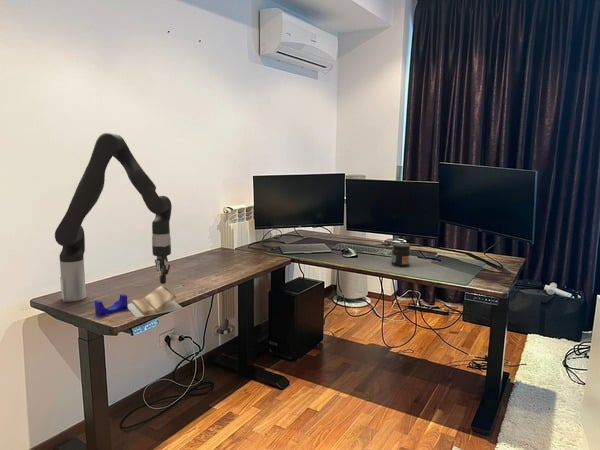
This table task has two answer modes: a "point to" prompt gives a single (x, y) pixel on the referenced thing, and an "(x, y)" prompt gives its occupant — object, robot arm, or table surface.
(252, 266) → the table surface
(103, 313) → the blue cradle holder
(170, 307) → the plate
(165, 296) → the click plank
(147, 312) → the laid plank
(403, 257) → the supplement container
